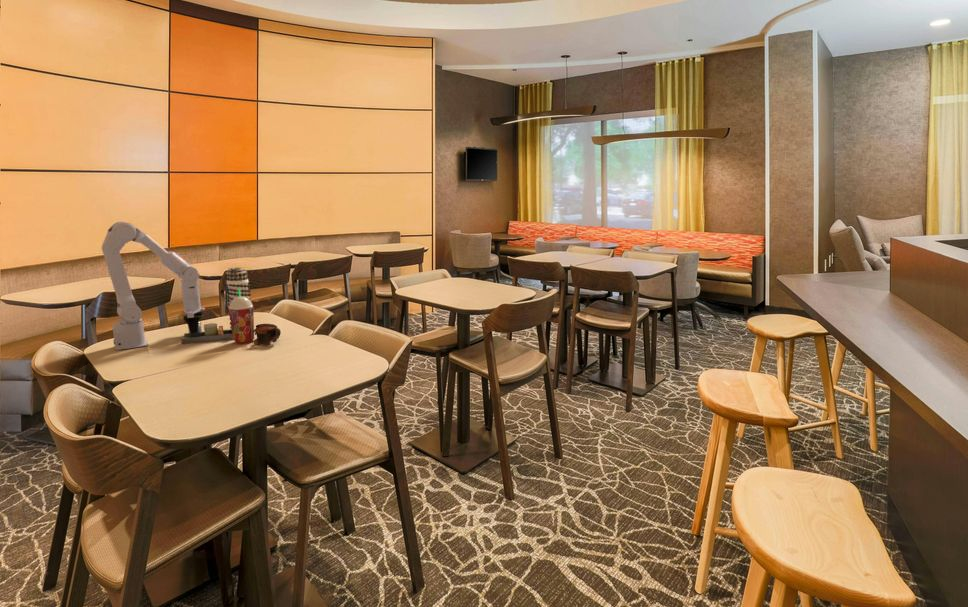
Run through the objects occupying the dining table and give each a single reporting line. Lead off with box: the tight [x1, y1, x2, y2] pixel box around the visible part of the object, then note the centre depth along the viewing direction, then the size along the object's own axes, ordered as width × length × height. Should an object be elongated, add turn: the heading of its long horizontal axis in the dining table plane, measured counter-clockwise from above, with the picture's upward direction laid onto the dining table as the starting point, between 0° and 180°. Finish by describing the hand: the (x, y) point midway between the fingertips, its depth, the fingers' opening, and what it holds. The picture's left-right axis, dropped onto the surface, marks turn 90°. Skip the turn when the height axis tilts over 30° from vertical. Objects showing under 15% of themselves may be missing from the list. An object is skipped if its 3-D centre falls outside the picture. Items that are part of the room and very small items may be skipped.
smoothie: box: [227, 289, 255, 345], centre depth 194 cm, size 8×8×20 cm
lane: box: [180, 328, 234, 345], centre depth 200 cm, size 18×8×4 cm, turn 111°
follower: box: [217, 325, 224, 335], centre depth 202 cm, size 1×6×4 cm, turn 21°
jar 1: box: [187, 320, 203, 333], centre depth 206 cm, size 4×4×5 cm
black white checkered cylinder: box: [225, 267, 252, 330], centre depth 213 cm, size 9×9×25 cm
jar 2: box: [203, 322, 219, 336], centre depth 200 cm, size 4×4×5 cm
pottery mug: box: [253, 323, 281, 346], centre depth 196 cm, size 12×10×8 cm
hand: (195, 332), depth 206 cm, fingers closed on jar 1, 4 cm apart
